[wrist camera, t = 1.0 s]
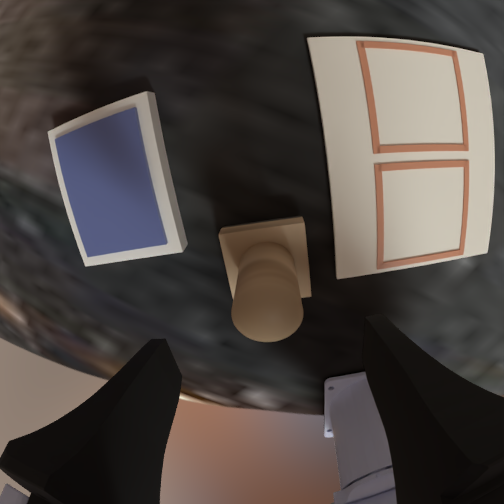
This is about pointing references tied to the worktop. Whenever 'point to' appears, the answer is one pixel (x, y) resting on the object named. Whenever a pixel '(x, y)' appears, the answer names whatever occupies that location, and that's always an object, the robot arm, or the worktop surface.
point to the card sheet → (405, 151)
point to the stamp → (267, 276)
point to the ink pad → (118, 182)
